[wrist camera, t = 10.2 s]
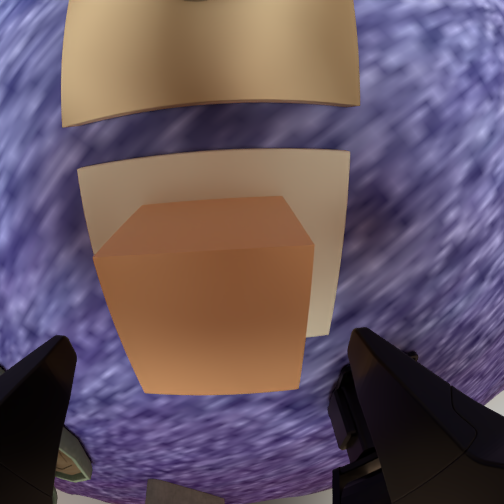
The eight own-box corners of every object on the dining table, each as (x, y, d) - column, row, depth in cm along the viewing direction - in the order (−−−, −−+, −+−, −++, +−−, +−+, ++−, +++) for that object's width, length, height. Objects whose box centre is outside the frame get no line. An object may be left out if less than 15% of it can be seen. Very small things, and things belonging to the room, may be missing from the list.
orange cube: (282, 196, 12) (314, 244, 7) (280, 311, 14) (298, 388, 10) (142, 205, 11) (92, 257, 7) (164, 317, 14) (145, 393, 9)
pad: (344, 150, 11) (350, 151, 11) (325, 328, 16) (328, 334, 15) (83, 167, 11) (77, 169, 10) (125, 335, 15) (123, 342, 15)
